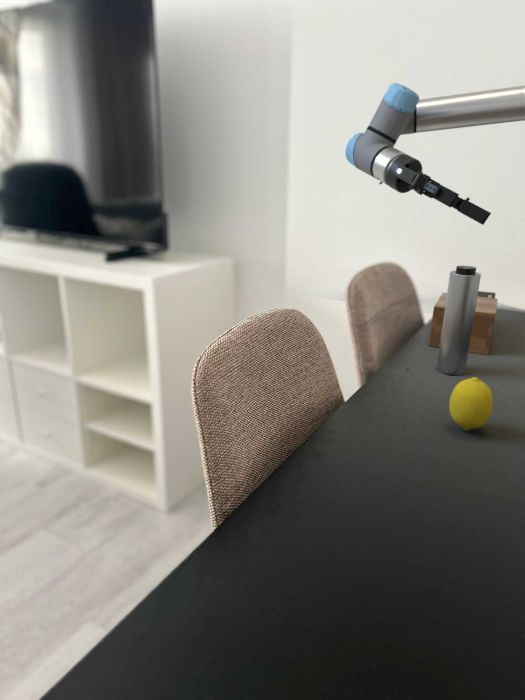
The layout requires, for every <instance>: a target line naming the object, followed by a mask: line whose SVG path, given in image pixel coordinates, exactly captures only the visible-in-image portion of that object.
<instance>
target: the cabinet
mask: <svg viewBox="0 0 525 700" xmlns="http://www.w3.org/2000/svg"><path fill="white" fill-rule="evenodd" d="M446 298H447V292H442V293H441V295H440V296H439V298H438V300H437V301H436V303H435V304H434V306H433V310H432V318H431V326H430V332H429V340H428V347H430V348H431V347H432V348H438V349H439V347H440V340H441V333H442V326H443V319H444V312H445V305H446ZM497 306H498V298H496V297H495V298H487V297H478V296H477V302H476V308H475V315H474V321H473V327H472V333H471V339H470V345H469V351H468V353H472V354H478V355H485V356H489V354H490V348H491V341H492V336H493V332H494V331H493V330H494V325H495V319H496V315H497Z"/></svg>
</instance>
